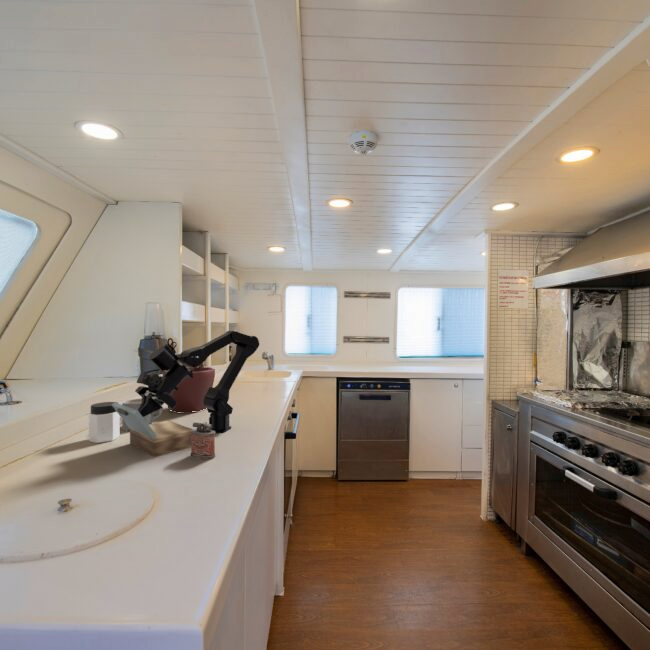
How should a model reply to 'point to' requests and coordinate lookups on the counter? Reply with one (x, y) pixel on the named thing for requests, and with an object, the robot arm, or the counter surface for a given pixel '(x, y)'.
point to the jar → (103, 423)
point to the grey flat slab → (134, 420)
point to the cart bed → (162, 438)
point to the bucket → (193, 389)
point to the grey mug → (135, 405)
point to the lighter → (202, 441)
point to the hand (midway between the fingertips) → (135, 418)
